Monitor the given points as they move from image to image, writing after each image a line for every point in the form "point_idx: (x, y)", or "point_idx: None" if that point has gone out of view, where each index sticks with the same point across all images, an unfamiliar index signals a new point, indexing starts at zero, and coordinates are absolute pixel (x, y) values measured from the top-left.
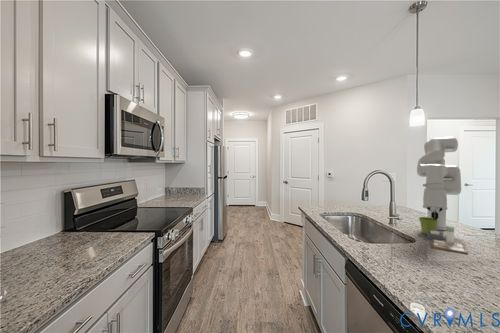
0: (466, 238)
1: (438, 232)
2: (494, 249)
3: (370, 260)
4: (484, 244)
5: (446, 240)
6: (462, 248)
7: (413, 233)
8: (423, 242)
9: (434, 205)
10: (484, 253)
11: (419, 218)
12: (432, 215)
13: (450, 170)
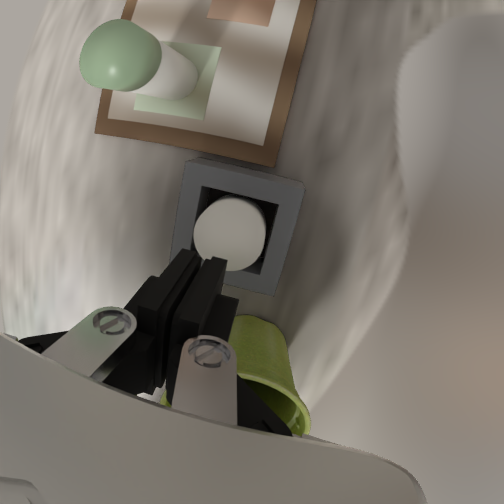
0: (71, 293)
1: (207, 208)
2: (9, 127)
3: None
4: (22, 203)
5: (192, 71)
6: (141, 2)
7: (355, 303)
8: (354, 65)
9: (82, 424)
10: (66, 16)
11: (307, 424)
12: (219, 311)
13: None
